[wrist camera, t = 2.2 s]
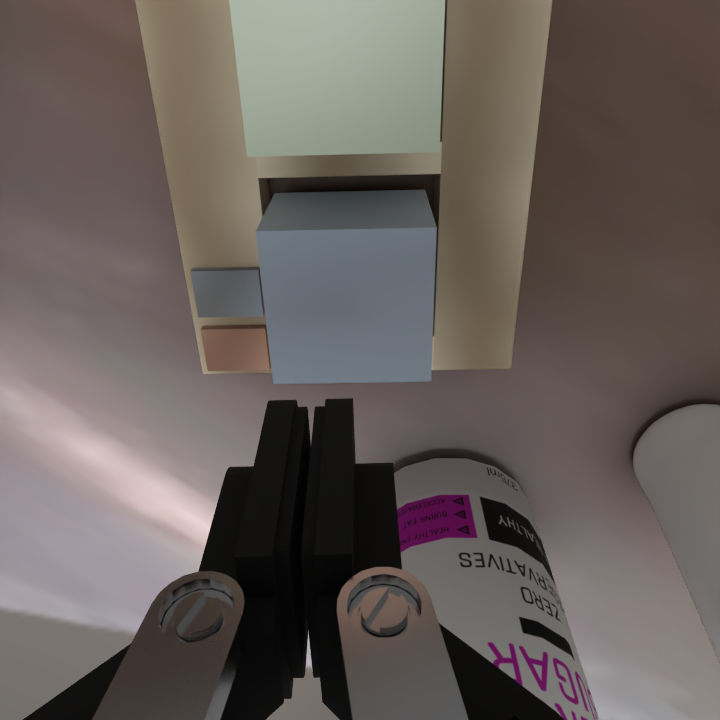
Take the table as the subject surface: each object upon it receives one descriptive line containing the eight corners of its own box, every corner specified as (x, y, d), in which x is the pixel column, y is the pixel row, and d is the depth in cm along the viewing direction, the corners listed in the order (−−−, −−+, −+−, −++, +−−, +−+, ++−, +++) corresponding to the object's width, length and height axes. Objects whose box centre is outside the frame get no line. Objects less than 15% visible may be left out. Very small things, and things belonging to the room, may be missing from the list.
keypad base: (590, -544, 14) (628, -636, 12) (500, 344, 25) (512, 373, 23) (69, -517, 14) (20, -603, 12) (214, 349, 26) (201, 378, 24)
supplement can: (348, 560, 32) (335, 938, 19) (377, 435, 28) (385, 809, 15) (499, 579, 33) (585, 958, 20) (548, 460, 29) (699, 840, 16)
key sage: (431, -68, 17) (448, -86, 13) (426, 125, 19) (439, 152, 16) (250, -61, 17) (220, -78, 13) (268, 129, 19) (247, 157, 16)
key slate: (424, 189, 20) (436, 227, 17) (421, 324, 23) (430, 381, 19) (274, 192, 20) (255, 231, 17) (287, 326, 23) (273, 384, 19)
